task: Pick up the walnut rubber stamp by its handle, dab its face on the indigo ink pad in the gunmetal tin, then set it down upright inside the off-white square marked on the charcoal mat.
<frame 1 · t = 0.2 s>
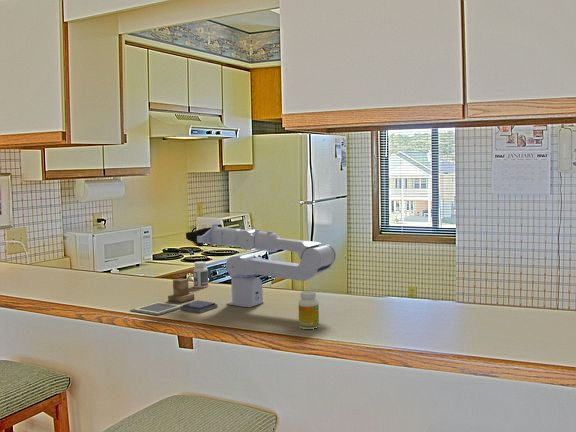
hand: (194, 233, 209), 21 cm above the table, tool horizontal, fingers open, 7 cm apart
pill bottle: (201, 287, 229), on the table
ink pad: (199, 308, 195), on the table
supplement bottle: (309, 328, 171), on the table
marked square: (158, 309, 196), on the table
stamp: (181, 300, 207), on the table
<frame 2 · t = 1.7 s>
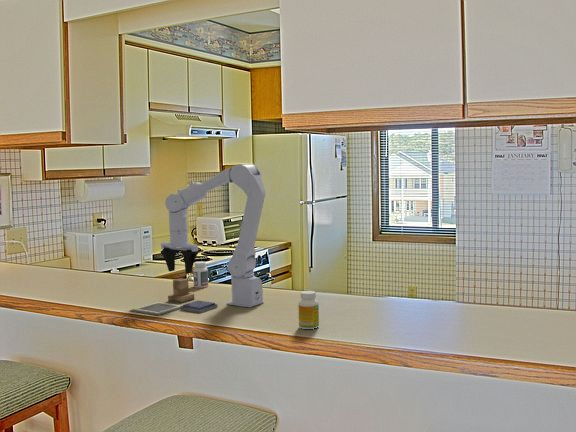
hand: (180, 271, 207), 9 cm above the table, tool pointing down, fingers open, 7 cm apart
nothing on the table moved.
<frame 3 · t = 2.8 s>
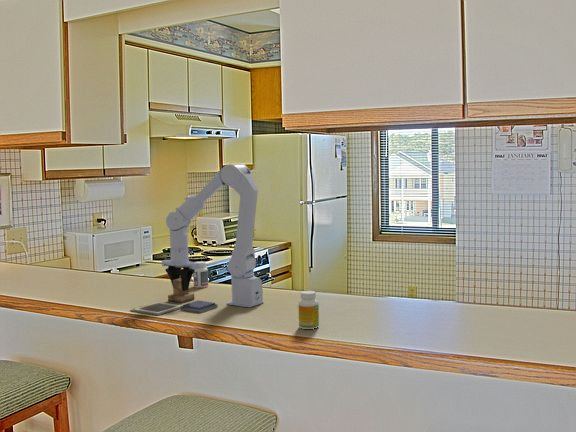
hand: (180, 289, 207), 4 cm above the table, tool pointing down, fingers closed on stamp, 3 cm apart
stamp: (181, 300, 207), on the table, touching gripper
everything else where it was.
when the fingers open (5 cm above the table, at t = 11.5 s): stamp drops 1 cm, resting on marked square.
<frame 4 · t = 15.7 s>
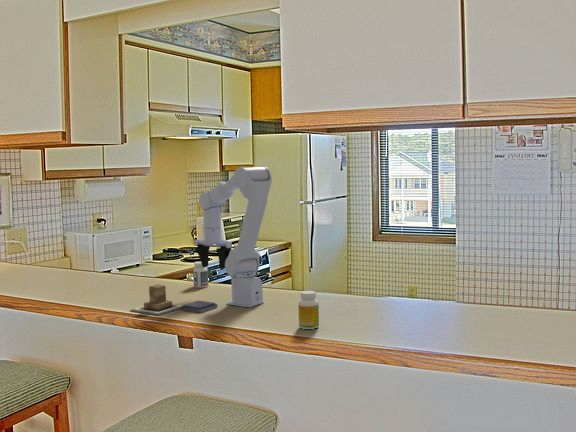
hand: (213, 267, 213), 9 cm above the table, tool pointing down, fingers open, 7 cm apart
stamp: (158, 308, 196), resting on marked square
everything else where it was.
at the end: stamp 0.1 cm off-centre on the marked square, point 0.3 cm above the marked square's base; stamp tilted 0°; the gripper is holding nothing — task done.
